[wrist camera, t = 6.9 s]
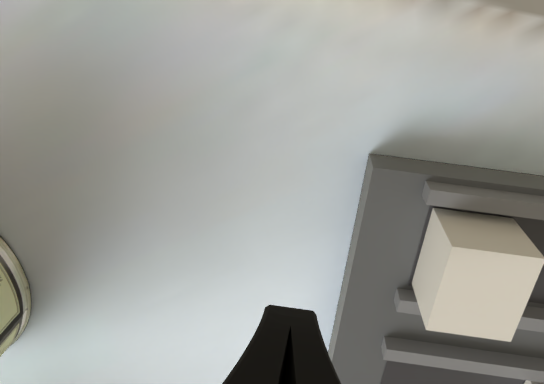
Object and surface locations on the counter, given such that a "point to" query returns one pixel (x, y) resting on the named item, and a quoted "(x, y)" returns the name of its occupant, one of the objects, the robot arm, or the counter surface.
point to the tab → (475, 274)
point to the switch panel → (400, 270)
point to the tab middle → (532, 382)
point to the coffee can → (12, 298)
